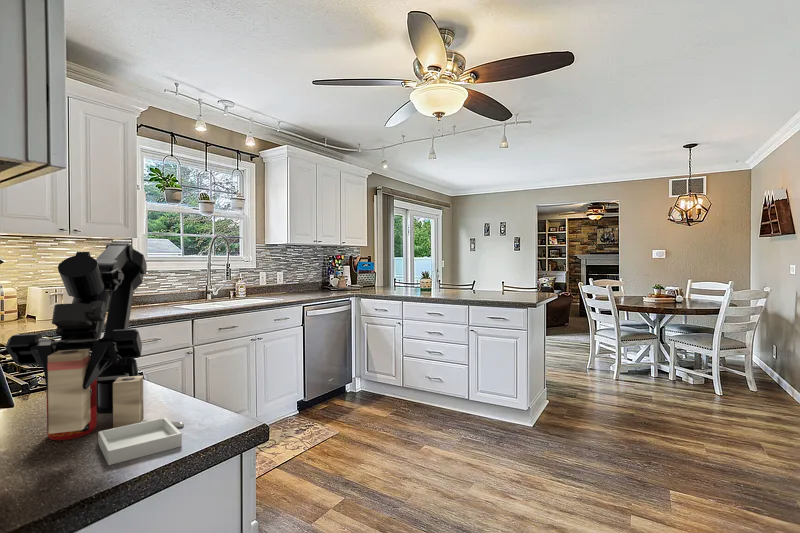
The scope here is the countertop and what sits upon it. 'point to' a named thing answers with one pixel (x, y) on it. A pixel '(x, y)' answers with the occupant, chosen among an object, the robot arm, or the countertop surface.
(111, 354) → the robot arm
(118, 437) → the tray
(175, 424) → the pin gauge
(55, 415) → the block
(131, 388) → the block
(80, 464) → the countertop surface
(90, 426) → the canned food
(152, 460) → the countertop surface
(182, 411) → the countertop surface
